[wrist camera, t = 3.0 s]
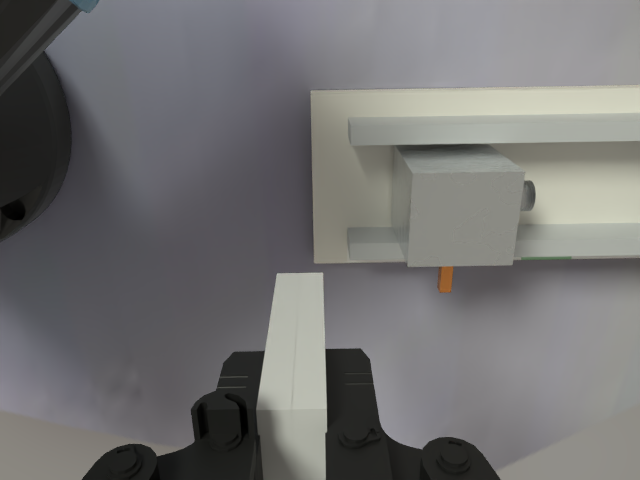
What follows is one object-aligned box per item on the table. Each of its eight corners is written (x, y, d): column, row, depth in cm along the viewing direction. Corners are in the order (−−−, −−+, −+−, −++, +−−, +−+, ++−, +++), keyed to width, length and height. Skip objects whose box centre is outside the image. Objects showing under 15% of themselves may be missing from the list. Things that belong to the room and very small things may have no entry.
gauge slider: (389, 262, 32) (405, 314, 26) (393, 143, 29) (412, 173, 24) (502, 260, 32) (542, 312, 26) (518, 141, 29) (565, 170, 24)
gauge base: (314, 255, 33) (313, 325, 26) (310, 90, 30) (309, 115, 22) (697, 248, 33) (808, 316, 26) (743, 83, 30) (891, 106, 22)
